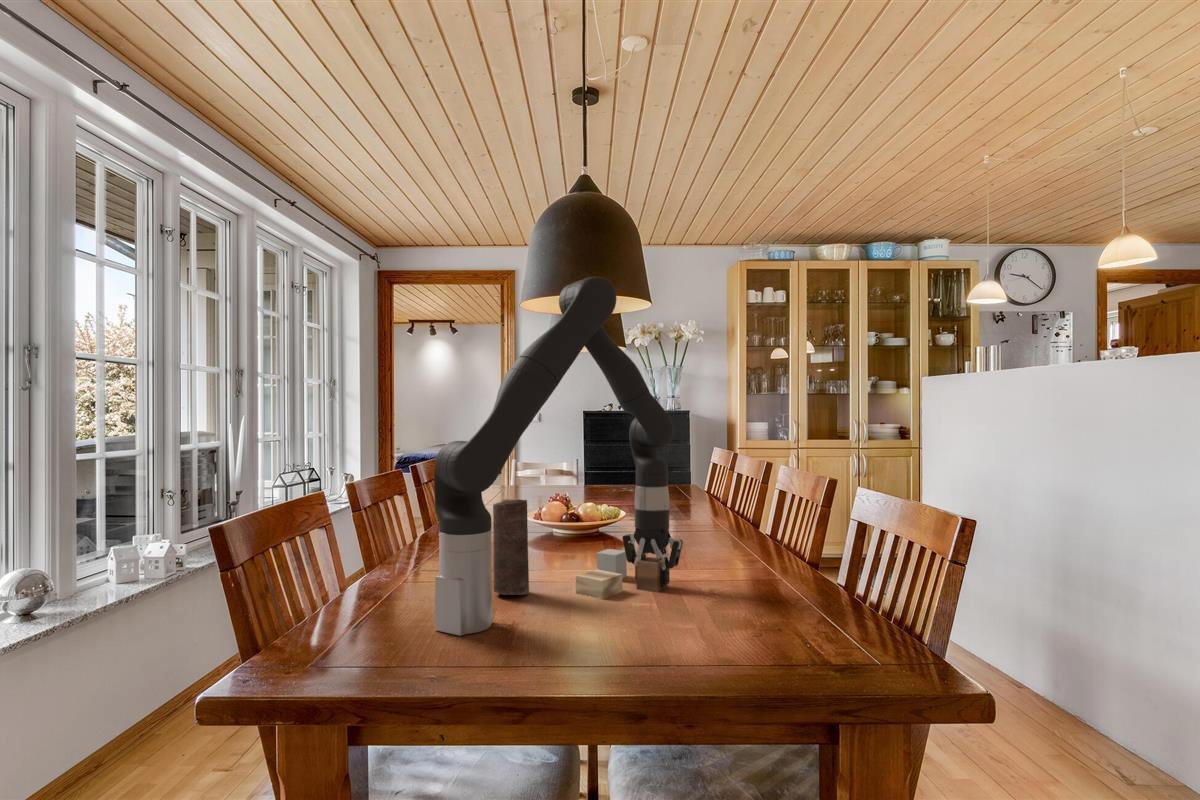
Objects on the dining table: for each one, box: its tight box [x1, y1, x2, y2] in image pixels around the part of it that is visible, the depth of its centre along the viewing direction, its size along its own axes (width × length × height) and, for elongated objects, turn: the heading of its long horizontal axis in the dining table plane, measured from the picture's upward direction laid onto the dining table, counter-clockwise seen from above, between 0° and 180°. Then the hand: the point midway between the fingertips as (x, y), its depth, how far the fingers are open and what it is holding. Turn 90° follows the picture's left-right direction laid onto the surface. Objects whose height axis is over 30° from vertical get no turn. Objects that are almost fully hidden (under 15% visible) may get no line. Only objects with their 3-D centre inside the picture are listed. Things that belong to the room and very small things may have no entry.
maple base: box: [575, 568, 623, 600], centre depth 141 cm, size 7×7×4 cm
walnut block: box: [636, 556, 669, 593], centre depth 144 cm, size 5×5×6 cm
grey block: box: [596, 548, 628, 580], centre depth 153 cm, size 5×5×6 cm
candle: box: [492, 499, 530, 596], centre depth 139 cm, size 8×7×20 cm
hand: (652, 584), depth 144 cm, fingers closed on walnut block, 5 cm apart
